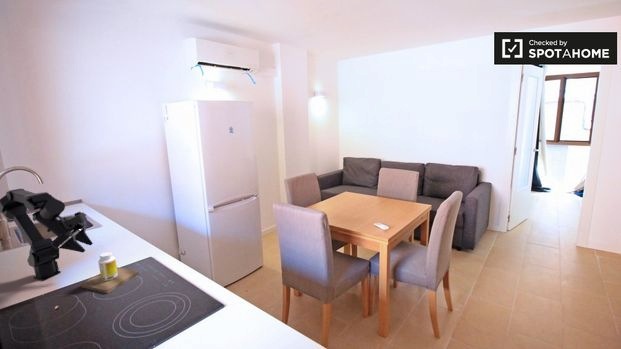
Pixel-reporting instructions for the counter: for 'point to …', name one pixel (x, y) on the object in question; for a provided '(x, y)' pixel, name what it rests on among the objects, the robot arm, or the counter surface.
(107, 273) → the supplement bottle
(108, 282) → the board
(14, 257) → the counter surface
